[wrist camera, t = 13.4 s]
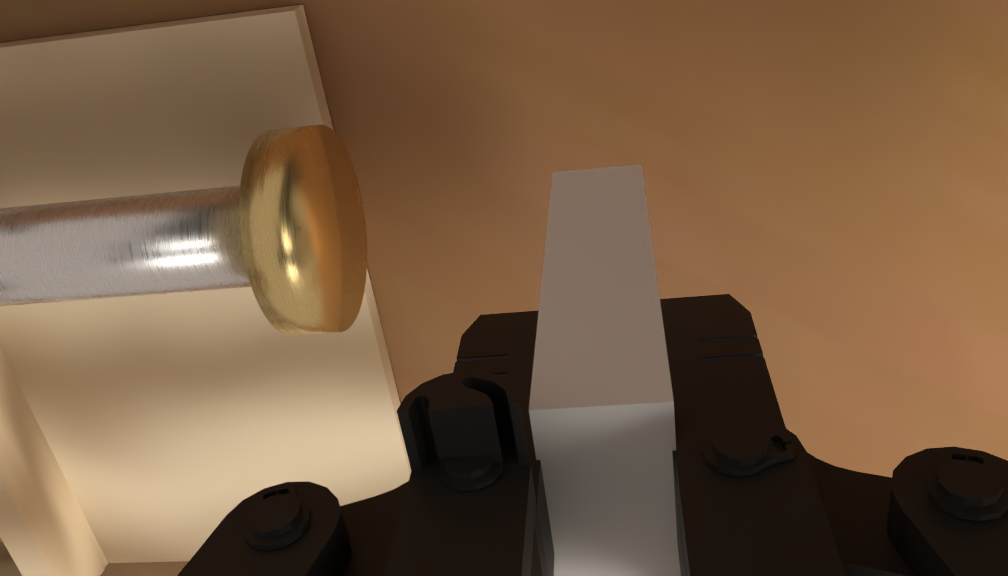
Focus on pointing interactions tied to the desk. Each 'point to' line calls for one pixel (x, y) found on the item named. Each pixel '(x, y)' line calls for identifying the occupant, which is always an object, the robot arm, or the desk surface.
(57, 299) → the shaft
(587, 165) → the desk surface
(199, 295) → the cradle
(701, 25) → the desk surface
